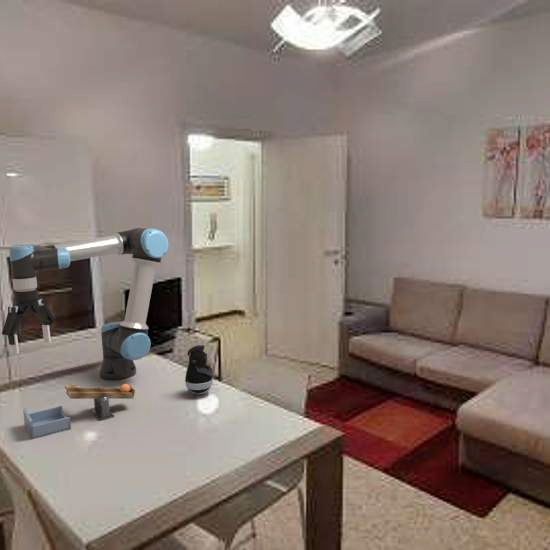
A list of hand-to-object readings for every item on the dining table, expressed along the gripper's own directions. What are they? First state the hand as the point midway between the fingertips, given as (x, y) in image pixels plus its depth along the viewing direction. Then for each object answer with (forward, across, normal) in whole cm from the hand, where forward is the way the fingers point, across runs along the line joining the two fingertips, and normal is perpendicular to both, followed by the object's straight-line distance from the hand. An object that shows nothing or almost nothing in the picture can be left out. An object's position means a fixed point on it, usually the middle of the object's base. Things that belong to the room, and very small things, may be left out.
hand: (31, 347), depth 178 cm
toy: (+24, -34, +48) cm, 63 cm away
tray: (+23, +10, +16) cm, 30 cm away
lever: (+17, -7, +22) cm, 29 cm away
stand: (+23, -5, +25) cm, 35 cm away
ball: (+16, -13, +30) cm, 36 cm away
